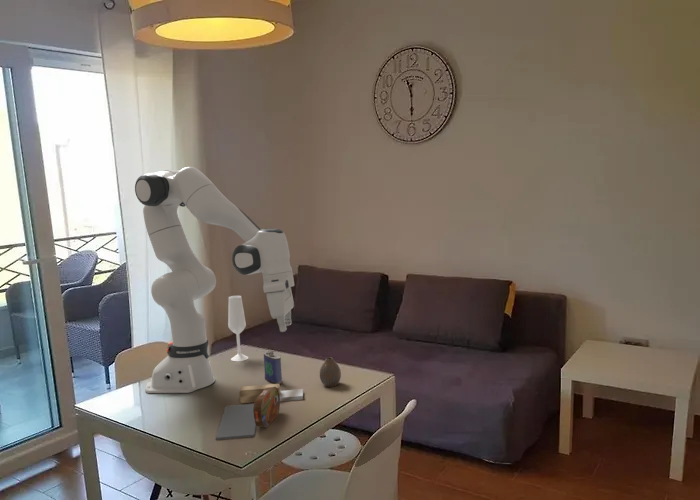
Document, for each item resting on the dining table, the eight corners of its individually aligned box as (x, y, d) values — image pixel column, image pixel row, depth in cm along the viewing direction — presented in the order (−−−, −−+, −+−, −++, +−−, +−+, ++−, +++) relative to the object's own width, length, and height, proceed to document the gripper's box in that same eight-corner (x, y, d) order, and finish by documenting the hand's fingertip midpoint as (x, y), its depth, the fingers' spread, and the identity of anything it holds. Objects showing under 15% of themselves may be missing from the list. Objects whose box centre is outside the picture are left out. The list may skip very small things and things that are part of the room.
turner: (240, 404, 178) (239, 392, 178) (242, 397, 184) (241, 385, 184) (303, 399, 180) (302, 387, 179) (302, 392, 186) (302, 380, 185)
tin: (263, 432, 157) (261, 402, 156) (252, 432, 158) (250, 401, 157) (281, 410, 172) (279, 382, 171) (271, 410, 173) (269, 382, 172)
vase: (324, 390, 187) (323, 363, 186) (317, 383, 193) (315, 357, 192) (344, 386, 189) (343, 359, 188) (336, 379, 196) (335, 354, 195)
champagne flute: (249, 359, 223) (244, 297, 220) (231, 362, 221) (226, 299, 218) (247, 354, 229) (243, 294, 226) (230, 357, 228) (225, 296, 225)
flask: (283, 383, 195) (281, 352, 194) (276, 385, 193) (273, 353, 192) (269, 376, 202) (267, 346, 201) (262, 379, 200) (260, 348, 199)
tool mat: (215, 439, 154) (215, 437, 154) (226, 407, 176) (226, 406, 176) (254, 436, 155) (254, 434, 155) (259, 405, 177) (259, 403, 177)
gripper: (274, 280, 185) (281, 323, 186) (261, 287, 165) (269, 336, 165) (294, 277, 185) (301, 320, 185) (283, 284, 164) (291, 333, 165)
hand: (286, 328), depth 175 cm, fingers open, 8 cm apart
